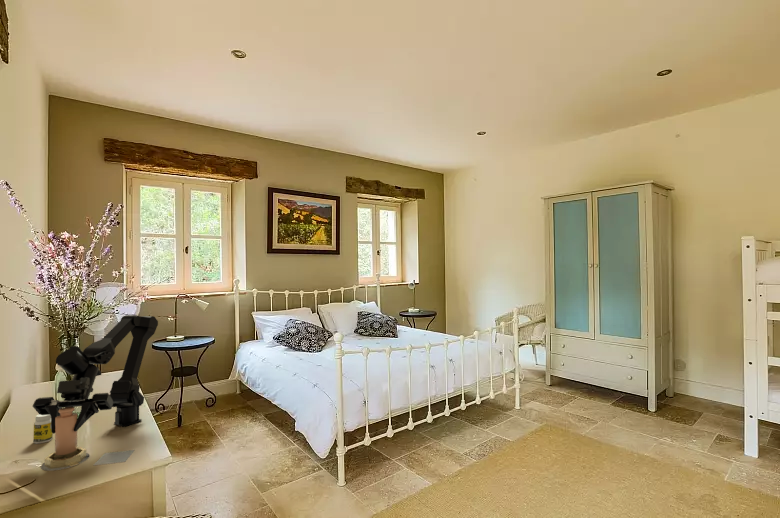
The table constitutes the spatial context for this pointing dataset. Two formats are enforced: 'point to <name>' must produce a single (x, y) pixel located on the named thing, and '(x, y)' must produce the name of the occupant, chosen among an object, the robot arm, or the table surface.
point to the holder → (65, 460)
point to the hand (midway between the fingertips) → (64, 431)
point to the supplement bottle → (42, 429)
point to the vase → (65, 431)
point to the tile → (114, 457)
